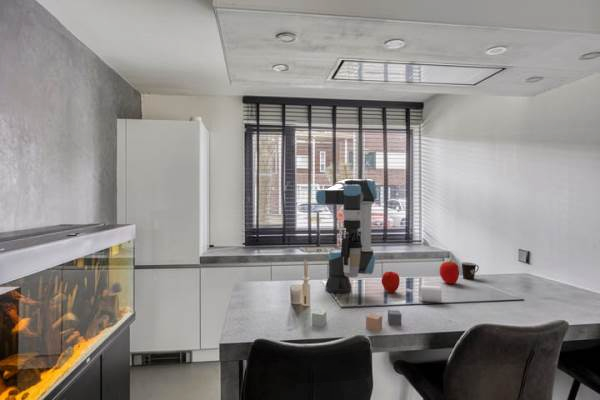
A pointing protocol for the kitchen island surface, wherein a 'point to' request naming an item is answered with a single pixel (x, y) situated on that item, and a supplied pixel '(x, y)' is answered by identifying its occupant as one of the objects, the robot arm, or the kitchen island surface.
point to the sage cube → (319, 317)
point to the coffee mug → (469, 270)
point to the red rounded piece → (390, 281)
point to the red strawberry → (449, 272)
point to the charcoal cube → (394, 317)
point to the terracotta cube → (374, 322)
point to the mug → (430, 294)
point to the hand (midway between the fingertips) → (351, 270)
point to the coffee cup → (354, 258)
